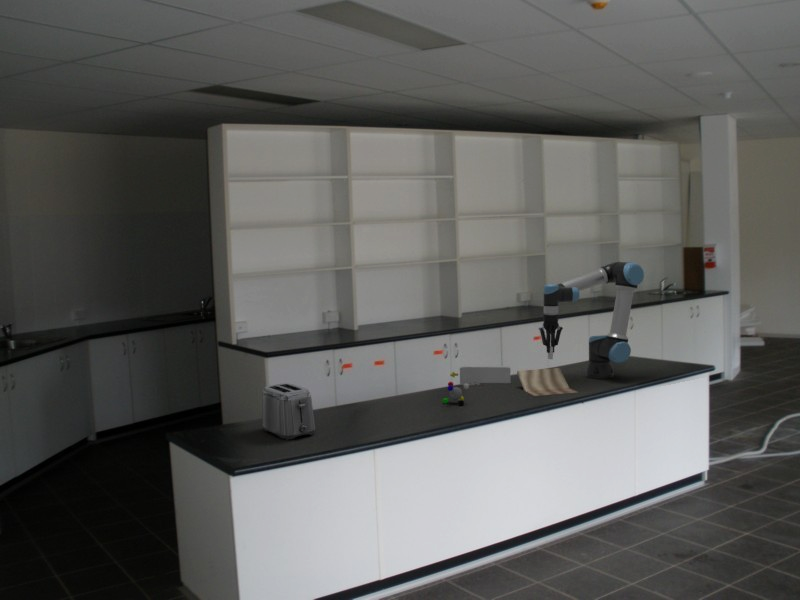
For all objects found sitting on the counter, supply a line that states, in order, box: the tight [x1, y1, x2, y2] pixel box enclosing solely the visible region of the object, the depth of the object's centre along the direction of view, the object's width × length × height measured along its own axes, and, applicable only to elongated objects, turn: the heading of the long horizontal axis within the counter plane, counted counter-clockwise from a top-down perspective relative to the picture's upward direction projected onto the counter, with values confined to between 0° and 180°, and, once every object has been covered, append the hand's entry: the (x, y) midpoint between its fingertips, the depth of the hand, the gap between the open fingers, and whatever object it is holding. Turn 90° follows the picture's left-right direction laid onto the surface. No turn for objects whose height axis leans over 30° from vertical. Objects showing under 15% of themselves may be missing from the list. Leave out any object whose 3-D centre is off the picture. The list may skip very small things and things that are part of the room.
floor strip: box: [527, 387, 579, 397], centre depth 385 cm, size 24×10×1 cm, turn 104°
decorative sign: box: [449, 365, 511, 386], centre depth 411 cm, size 32×4×10 cm, turn 83°
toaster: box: [261, 382, 316, 441], centre depth 323 cm, size 17×30×19 cm, turn 36°
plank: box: [516, 367, 570, 393], centre depth 395 cm, size 24×14×1 cm
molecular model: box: [442, 381, 470, 407], centre depth 369 cm, size 11×13×10 cm
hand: (550, 358), depth 399 cm, fingers closed
